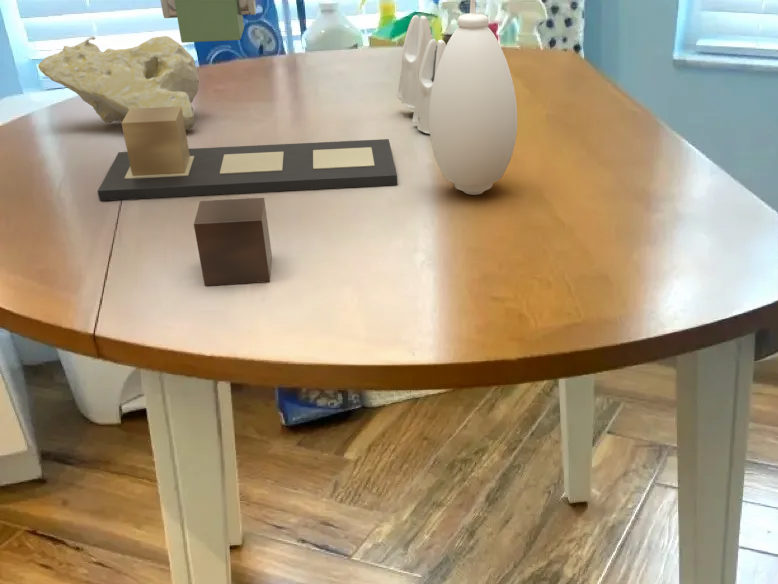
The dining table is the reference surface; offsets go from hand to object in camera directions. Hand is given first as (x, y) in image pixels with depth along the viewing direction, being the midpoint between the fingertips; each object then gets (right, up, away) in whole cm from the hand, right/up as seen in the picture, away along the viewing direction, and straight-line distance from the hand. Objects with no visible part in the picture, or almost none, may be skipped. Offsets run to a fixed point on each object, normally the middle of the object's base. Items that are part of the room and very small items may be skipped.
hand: (210, 15), depth 83 cm
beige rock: (-16, -1, +27) cm, 32 cm away
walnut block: (+4, -24, -7) cm, 25 cm away
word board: (+1, -10, +13) cm, 16 cm away
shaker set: (+18, 0, +27) cm, 32 cm away
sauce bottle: (+23, -13, +8) cm, 28 cm away
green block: (0, -1, +1) cm, 2 cm away
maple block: (-8, -10, +11) cm, 17 cm away
